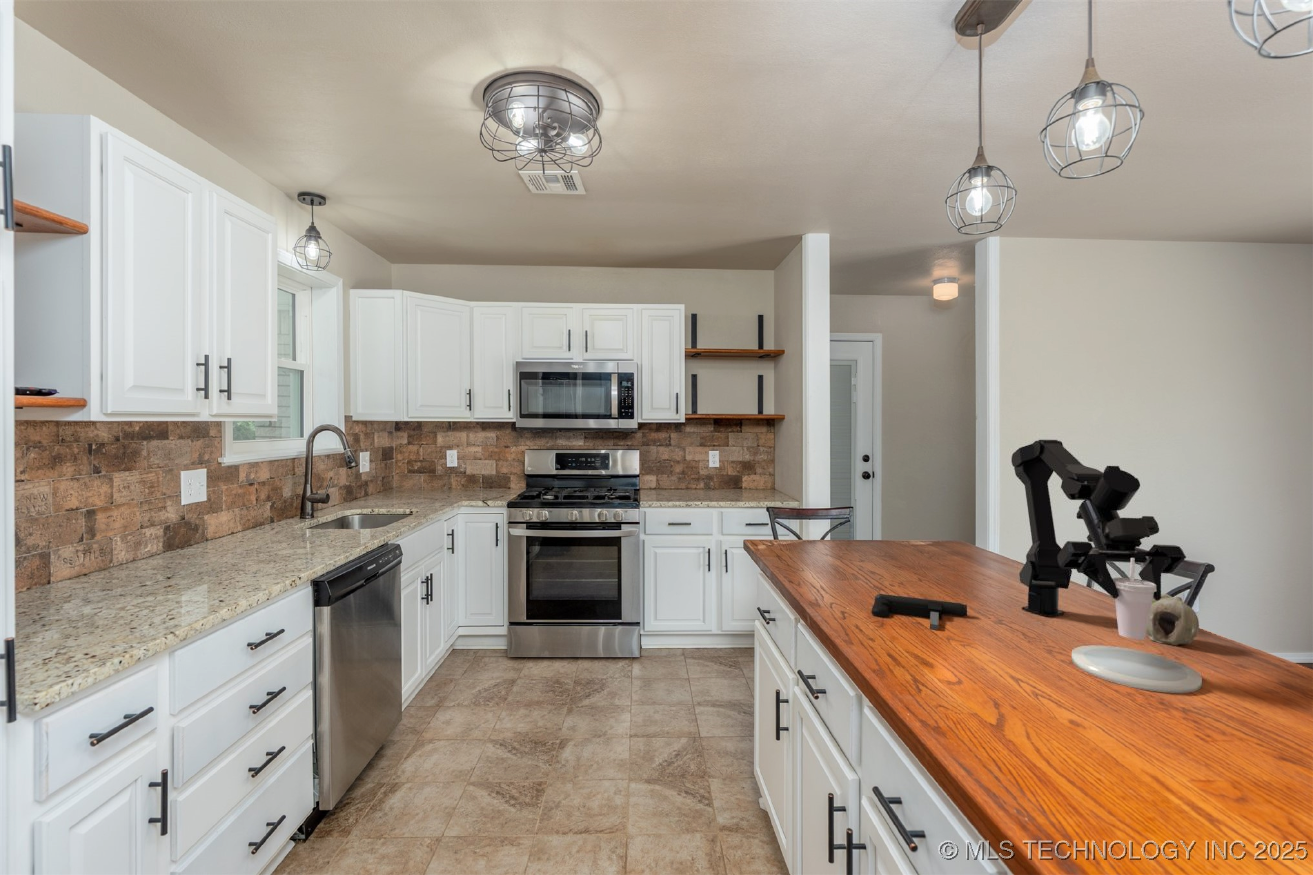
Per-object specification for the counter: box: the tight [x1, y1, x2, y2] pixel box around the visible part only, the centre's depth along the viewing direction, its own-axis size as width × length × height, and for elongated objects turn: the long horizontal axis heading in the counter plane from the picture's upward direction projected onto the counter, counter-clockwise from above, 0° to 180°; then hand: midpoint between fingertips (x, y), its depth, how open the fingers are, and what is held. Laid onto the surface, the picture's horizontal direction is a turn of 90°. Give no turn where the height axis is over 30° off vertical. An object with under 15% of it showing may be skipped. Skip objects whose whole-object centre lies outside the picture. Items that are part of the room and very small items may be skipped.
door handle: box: [870, 593, 968, 631], centre depth 135 cm, size 3×20×16 cm
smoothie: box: [1112, 558, 1157, 641], centre depth 106 cm, size 6×6×14 cm
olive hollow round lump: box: [1146, 593, 1200, 646], centre depth 121 cm, size 9×8×10 cm
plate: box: [1071, 644, 1203, 694], centre depth 106 cm, size 18×18×1 cm
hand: (1137, 598), depth 104 cm, fingers closed on smoothie, 6 cm apart
